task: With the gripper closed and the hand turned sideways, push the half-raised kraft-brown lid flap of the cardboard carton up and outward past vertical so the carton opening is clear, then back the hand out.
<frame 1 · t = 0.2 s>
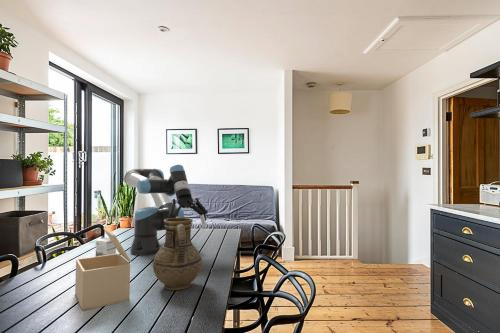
hand: (192, 228, 151), 15 cm above the table, tool tilted 35°, fingers open, 13 cm apart
carton: (101, 297, 106), on the table
lid flap: (116, 244, 109), point 17 cm above the table, hinge at 60.0°
syrup box: (105, 274, 129), on the table
decorative pitcher: (177, 286, 117), on the table
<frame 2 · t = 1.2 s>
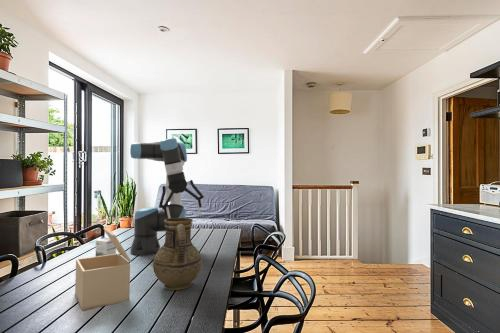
hand: (185, 218, 142), 22 cm above the table, tool pointing down, fingers open, 13 cm apart
nothing on the table moved.
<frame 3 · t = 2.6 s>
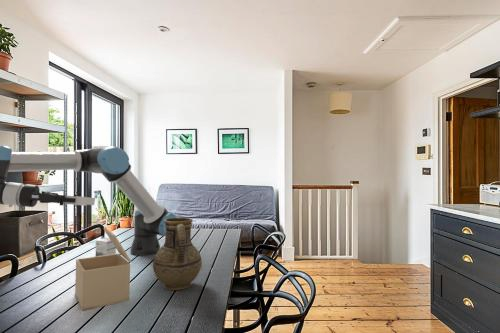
hand: (91, 201, 111), 32 cm above the table, tool horizontal, fingers open, 13 cm apart
nothing on the table moved.
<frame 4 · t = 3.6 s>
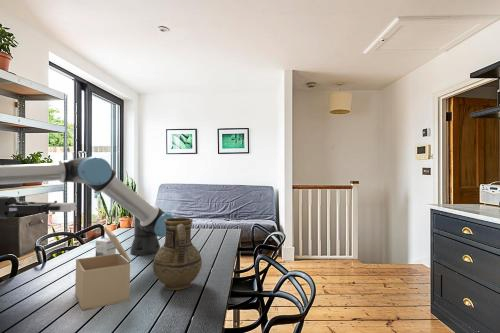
hand: (72, 207, 109), 30 cm above the table, tool horizontal, fingers open, 3 cm apart
nothing on the table moved.
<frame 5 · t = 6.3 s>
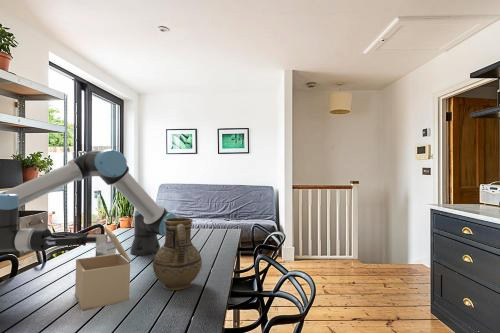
hand: (106, 238, 110), 19 cm above the table, tool horizontal, fingers closed
lid flap: (116, 244, 109), point 17 cm above the table, hinge at 60.3°, touching gripper
everything else where it was.
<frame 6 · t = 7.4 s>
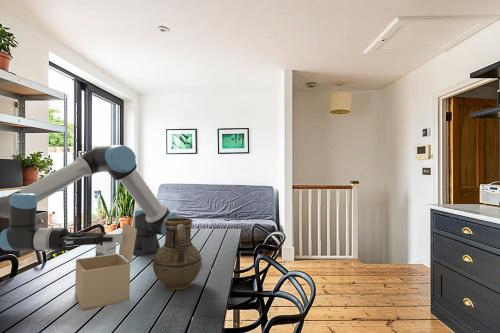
hand: (123, 238, 111), 19 cm above the table, tool horizontal, fingers closed
lid flap: (127, 241, 111), point 18 cm above the table, hinge at 98.0°, touching gripper
everything else where it was.
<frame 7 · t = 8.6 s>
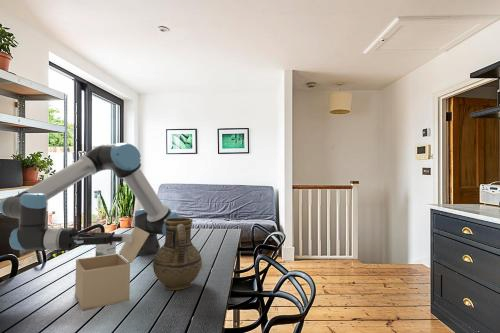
hand: (132, 238, 112), 19 cm above the table, tool horizontal, fingers closed
lid flap: (133, 243, 112), point 17 cm above the table, hinge at 122.8°, touching gripper
everything else where it was.
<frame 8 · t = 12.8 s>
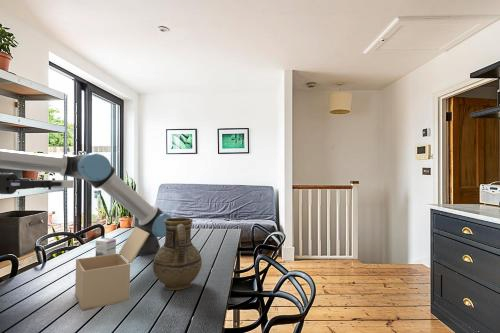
hand: (72, 184, 113), 38 cm above the table, tool horizontal, fingers closed
lid flap: (133, 243, 112), point 17 cm above the table, hinge at 122.9°
everything else where it was.
at the end: lid flap at +123° (first picture: +60°); decorative pitcher moved 0.2 cm from its start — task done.
